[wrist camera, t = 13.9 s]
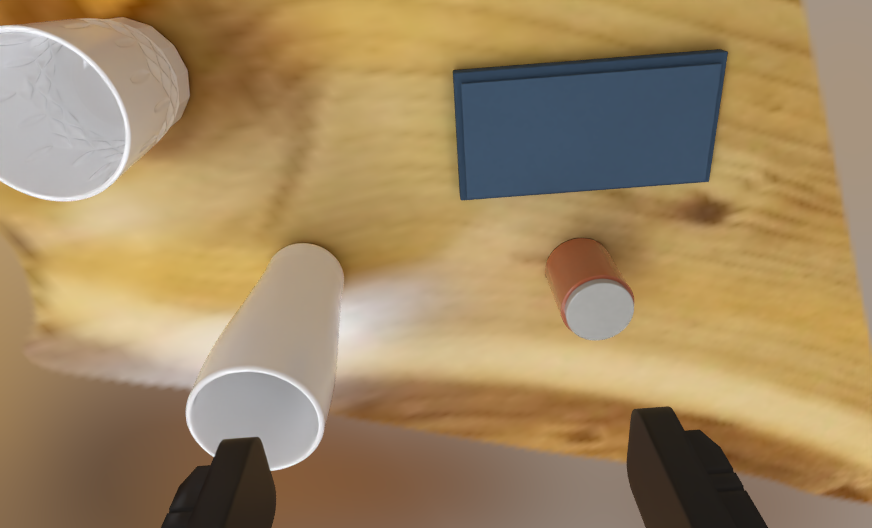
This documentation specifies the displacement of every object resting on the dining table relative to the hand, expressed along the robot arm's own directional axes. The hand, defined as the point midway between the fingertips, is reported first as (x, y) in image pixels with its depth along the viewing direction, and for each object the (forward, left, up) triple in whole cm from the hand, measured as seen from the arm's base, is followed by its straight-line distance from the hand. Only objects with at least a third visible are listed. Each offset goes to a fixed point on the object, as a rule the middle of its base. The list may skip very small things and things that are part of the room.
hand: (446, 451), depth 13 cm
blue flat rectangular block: (+1, +10, -28) cm, 29 cm away
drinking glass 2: (+10, -9, -28) cm, 31 cm away
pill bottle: (+11, +10, -28) cm, 31 cm away
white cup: (-4, -17, -28) cm, 33 cm away
